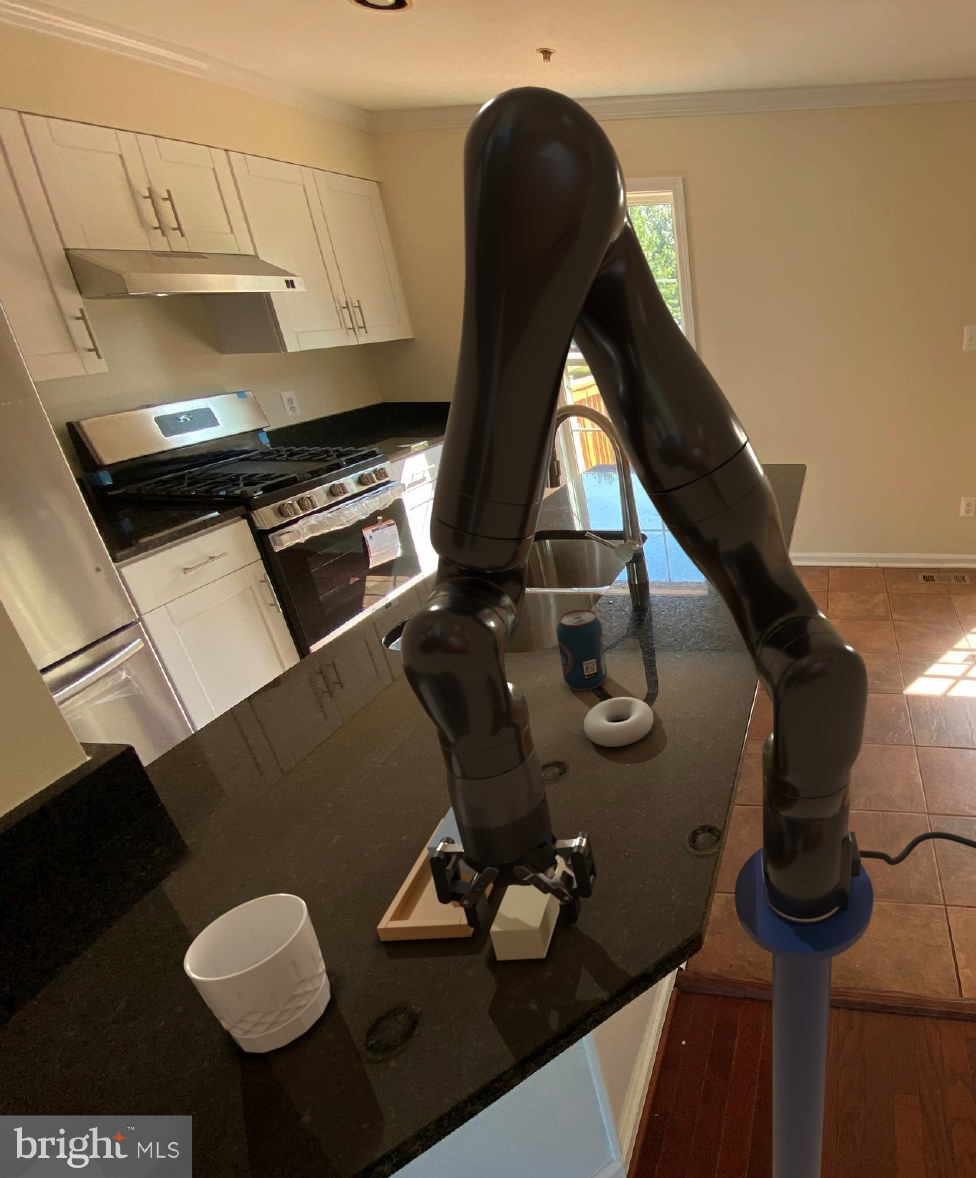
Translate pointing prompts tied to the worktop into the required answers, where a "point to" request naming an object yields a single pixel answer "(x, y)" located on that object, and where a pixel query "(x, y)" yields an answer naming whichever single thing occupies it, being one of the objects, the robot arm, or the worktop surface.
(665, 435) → the robot arm
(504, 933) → the pad
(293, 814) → the worktop surface
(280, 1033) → the white cup
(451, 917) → the frame
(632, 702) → the donut
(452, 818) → the pad
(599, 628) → the soda can
